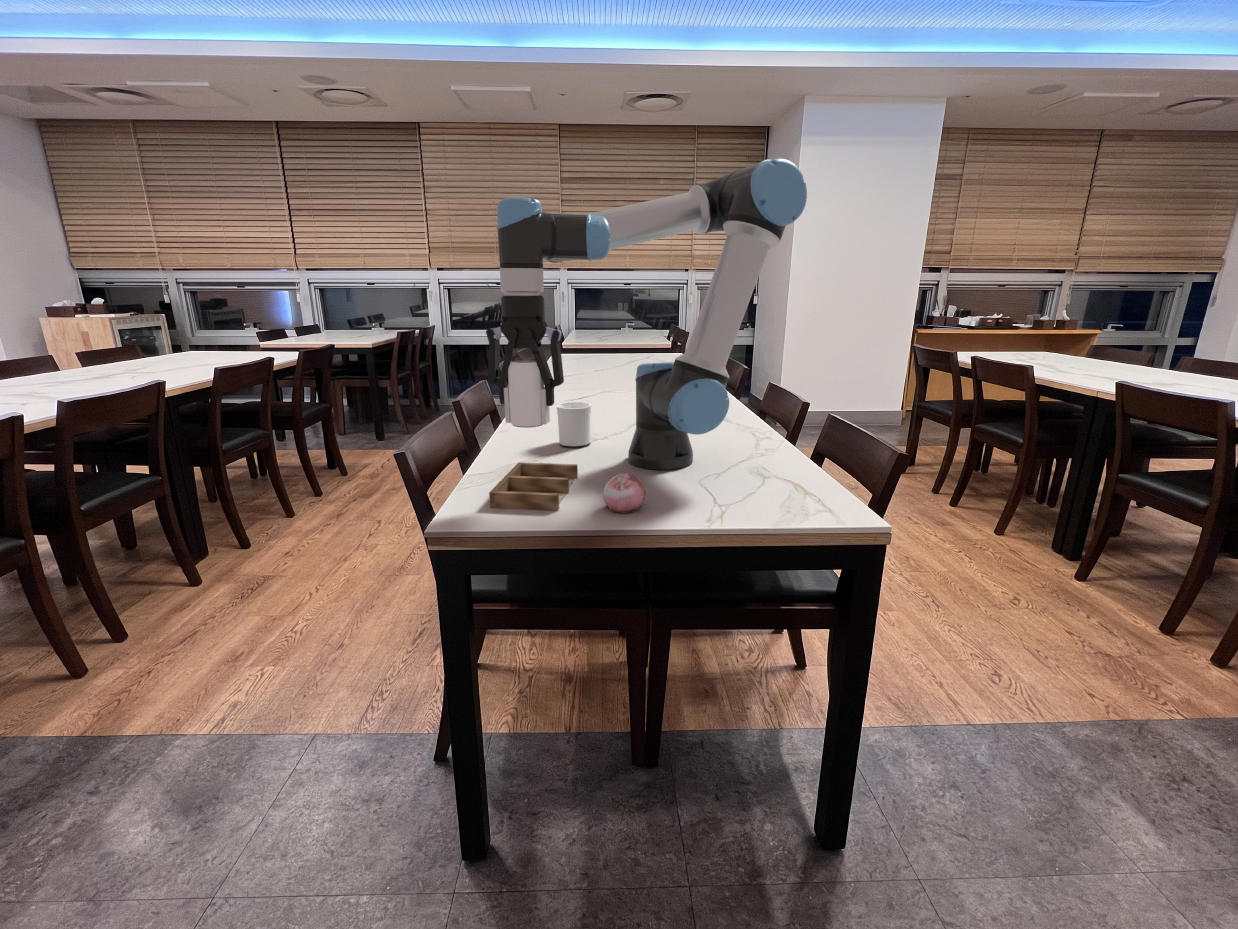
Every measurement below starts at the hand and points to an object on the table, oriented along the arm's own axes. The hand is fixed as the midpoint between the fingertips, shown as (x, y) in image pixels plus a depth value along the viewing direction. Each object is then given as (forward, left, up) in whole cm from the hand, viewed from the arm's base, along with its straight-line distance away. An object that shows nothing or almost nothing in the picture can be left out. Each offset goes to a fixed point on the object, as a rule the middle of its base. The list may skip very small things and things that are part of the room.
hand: (527, 421), depth 110 cm
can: (0, 0, -1) cm, 1 cm away
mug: (-1, -40, -16) cm, 43 cm away
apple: (-19, +3, -16) cm, 25 cm away
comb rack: (-1, -4, -15) cm, 16 cm away
